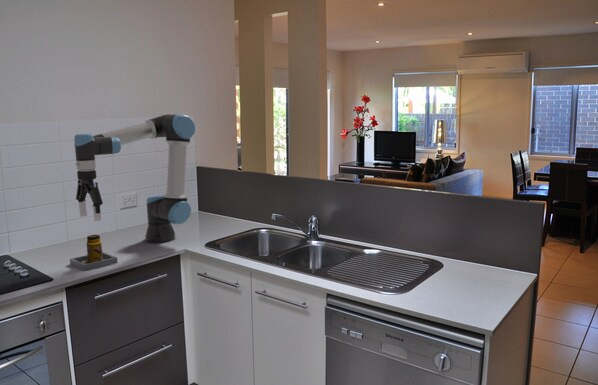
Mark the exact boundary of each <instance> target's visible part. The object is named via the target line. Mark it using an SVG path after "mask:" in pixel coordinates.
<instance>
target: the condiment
mask: <svg viewBox="0 0 598 385" xmlns="http://www.w3.org/2000/svg"><path fill="white" fill-rule="evenodd" d="M86 238H87V239H86V252H87V254H86V255H87V256H88V260H87V261H82V262H83V264H88V263H93V262H97V261H101V260H103V258H102V252H103V249H102V241H101V236H100V235H99V234H91V235H88V236H87V237H86Z"/></svg>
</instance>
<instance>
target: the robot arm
mask: <svg viewBox="0 0 598 385" xmlns="http://www.w3.org/2000/svg"><path fill="white" fill-rule="evenodd" d="M195 124H196V123H195V122H194V120H193V119H192V118H191V117H190V116H189V115H186V114H183V113H182V114H181V113H180V114H175V113H174V114H169V113H168V114H162V115H159V116H156V117H153V118H150V119H146V120H145V122H142V123H138V124H134V125H131V126H127V127H123V128H120V129H115V130H111V131H107V132H103V133H99V134H95V135H93V134H92V133H77V134H75V135H74V140H73V141H74V143H73V144H74V150H75V162H76V163H75V165H76V170H77V172H76V175H77V188H76V195H75V196H76V197H75V200H76V201H78V207H79V208H78V209H79V217H81V218H83V217H87V216H88V214H87V213H88V212H87V202H86V201H87V199H86V198H87V194H89V197H90V199H91V201H92V203H93V204H92V209H93V221H94V222H98V221H102V215H101V214H102V213H101V206H102V205H103V204H104V203H103V200H102V196H101V193H100V189H99V185H98V182H94V180H96V179H97V170H96V169H97V166H96V165H97V164H96V156H103V155H115V154H119V153H120V152H121V150H122V146H123V145H127V144H132V143H134V142H138V141H142V140H145V139H152V140H153V139H158V138H165V142H166V143H167V144H168V158H167V179H166V180H167V181H166V193H165V194H160V195H152V196H149V197H147V198H146V213H147V228H146V232H145V235H144V237H145V241H146V242H149V243H166V242H171V241H174V240H175V239H176V232H175V230H174V228H173V225H172V224H174V225H182V224H184V223H186V222H187V221H188V220H189V218H190V217H191V215H192V207H191V205H190V204H189V202H188V196H187V195H186V193H185V188H186V185H185V184H186V167H187V166H186V164H187V150H188V148H187V147H188V145H189V144H191V142H190V141H191V138H193V136H194V134H195V133H196V125H195Z"/></svg>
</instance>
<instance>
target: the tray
mask: <svg viewBox="0 0 598 385" xmlns="http://www.w3.org/2000/svg"><path fill="white" fill-rule="evenodd" d="M102 258H103V260H101V261H97V262H93V263H88V264H83V262H82V261H87V260H88V256H87V254H85V255H82V256H76V257H72V258H71V257H70V258H69V265H71V266H73V267H75V268H77V269H79V270H82V271H83V272H84V271H85V272H86V271H89V270H93V269H98V268H102V267H105V266H110V265H114V264H118V256H115V255H112V254H109V253H107V252H104V251H102Z"/></svg>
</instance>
